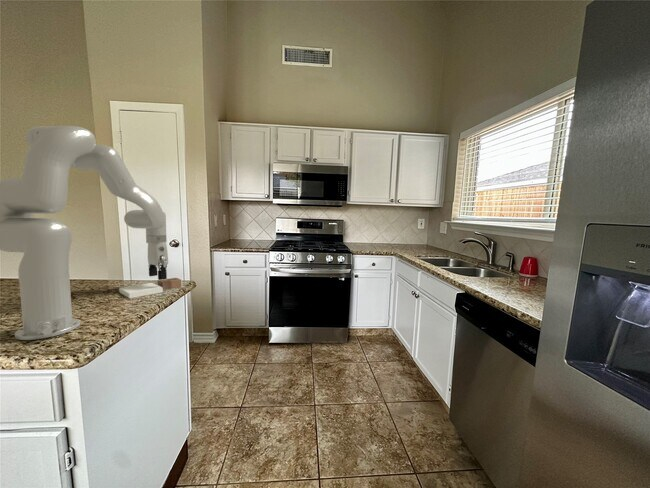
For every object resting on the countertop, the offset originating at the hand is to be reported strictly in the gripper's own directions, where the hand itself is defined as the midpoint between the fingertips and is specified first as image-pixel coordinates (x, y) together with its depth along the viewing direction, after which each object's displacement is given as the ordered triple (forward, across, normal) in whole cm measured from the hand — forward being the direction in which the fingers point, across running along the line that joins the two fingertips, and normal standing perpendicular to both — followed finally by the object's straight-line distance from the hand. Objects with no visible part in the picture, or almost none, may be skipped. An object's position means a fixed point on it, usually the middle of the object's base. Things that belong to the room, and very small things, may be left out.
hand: (157, 277), depth 116 cm
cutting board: (+5, 0, +6) cm, 8 cm away
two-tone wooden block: (+4, 0, -1) cm, 4 cm away
